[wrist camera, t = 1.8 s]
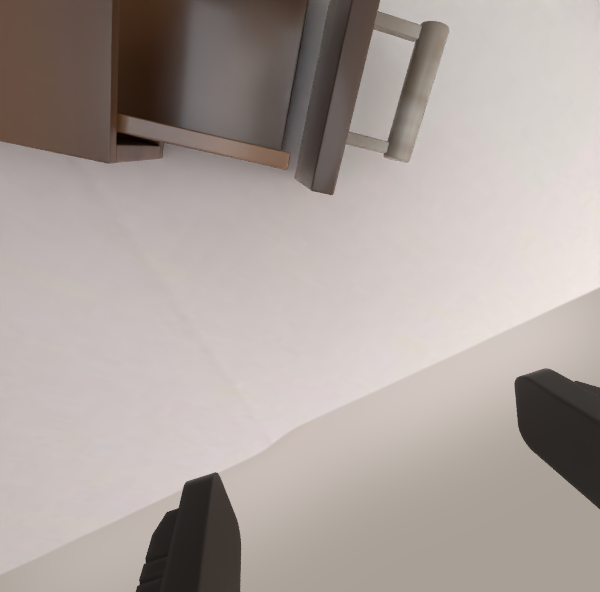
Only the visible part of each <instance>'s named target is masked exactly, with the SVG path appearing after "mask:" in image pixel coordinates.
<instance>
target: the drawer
mask: <svg viewBox="0 0 600 592" xmlns="http://www.w3.org/2000/svg"><path fill="white" fill-rule="evenodd" d="M379 2H380V0H330V1H329V6H328V11H327V17H326V22H325V27H324V32H323V37H322V42H321V47H320V52H319V57H318V62H317V67H316V72H315V77H314V82H313V87H312V92H311V97H310V102H309V107H308V112H307V117H306V122H305V127H304V132H303V137H302V142H301V147H300V153H299V158H298V163H297V168H296V173H295V179H296V180H297V181H299V182H300V183H302V184H303V185H304V186H306V187H307V188H309V189H310V190H312V191H315V192H320V193H324V194H329V195H333V194H334V190H335V186H336V181H337V177H338V173H339V169H340V165H341V161H342V156H343V152H344V148H345V144H348V145H352V146H356V147H360V148H364V149H368V150H372V151H376V152H380V153H384V157H385V158H387V159H391V160H395V161H400V162H406V163H407V162H409V161H410V158H411V154H412V151H413V148H414V144H415V141H416V138H417V135H418V131H419V128H420V125H421V122H422V118H423V115H424V112H425V108H426V105H427V102H428V99H429V95H430V92H431V89H432V86H433V82H434V79H435V76H436V72H437V69H438V66H439V63H440V59H441V56H442V53H443V50H444V46H445V43H446V40H447V36H448V33H449V27H448V26H447V25H445V24H443V23H441V22H436V21H427V22H423V23H422V24H421V25H418V24H415V23H412V22H409V21H406V20H403V19H400V18H397V17H394V16H391V15H388V14H385V13H382V12H379V11H378V7H379ZM307 6H308V0H120V8H119V50H118V91H117V132H119V133H124V134H128V135H133V136H137V137H142V138H146V139H151V140H155V141H160V142H164V143H168V144H173V145H177V146H182V147H186V148H191V149H195V150H200V151H204V152H209V153H213V154H218V155H222V156H227V157H231V158H236V159H240V160H245V161H249V162H253V163H258V164H262V165H267V166H271V167H276V168H280V169H285V170H287V169H288V164H289V159H290V153H289V152H285V151H281V150H282V144H283V139H284V133H285V128H286V122H287V117H288V111H289V106H290V100H291V94H292V89H293V83H294V78H295V72H296V67H297V61H298V56H299V50H300V45H301V39H302V34H303V28H304V23H305V17H306V12H307ZM373 29H375V30H378V31H381V32H384V33H387V34H390V35H394V36H397V37H400V38H403V39H406V40H409V41H413V42H414V41H415V45H414V49H413V52H412V56H411V59H410V63H409V66H408V70H407V74H406V77H405V81H404V84H403V88H402V91H401V95H400V99H399V102H398V106H397V109H396V113H395V117H394V120H393V124H392V127H391V131H390V134H389V138H388V142H387V141H383V140H379V139H375V138H371V137H367V136H363V135H360V134H356V133H352V132H348V131H349V127H350V123H351V119H352V115H353V111H354V106H355V102H356V98H357V94H358V90H359V86H360V82H361V77H362V73H363V69H364V65H365V61H366V57H367V52H368V48H369V44H370V40H371V36H372V32H373Z"/></svg>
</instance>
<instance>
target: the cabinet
mask: <svg viewBox="0 0 600 592" xmlns="http://www.w3.org/2000/svg"><path fill="white" fill-rule="evenodd" d="M119 8H120V0H0V141H2V142H7V143H12V144H17V145H22V146H26V147H31V148H36V149H41V150H46V151H51V152H55V153H60V154H65V155H70V156H75V157H80V158H85V159H89V160H94V161H99V162H104V163H117V162H128V161H139V160H149V159H160V158H162V155H163V142H160V141H155V140H151V139H146V138H142V137H137V136H133V135H128V134H124V133H119V132H117V91H118V50H119Z"/></svg>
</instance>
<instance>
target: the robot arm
mask: <svg viewBox="0 0 600 592" xmlns="http://www.w3.org/2000/svg"><path fill="white" fill-rule="evenodd" d="M515 394H516V406H517V417H518V426H519V430H520V433H521V435H522V437H523V439H524V441H525V442H526V444H527V445H528V446H529V447H530V449H531V450H532V451H533V452H534V453H536V454H537V455H538V456H539V457H540V458H541V459H543V460H544V461H545V462H546V463H547V464H548V465H550V466H551V467H552V468H553V469H554V470H555V471H556V472H558V473H559V474H560V475H561V476H562V477H563V478H564V479H566V480H567V481H568V482H569V483H570V484H571V485H573V486H574V487H575V488H576V489H577V490H578V491H580V492H581V493H582V494H583V495H584V496H585V497H586V498H588V499H589V500H590V501H591V502H592V503H593V504H595V505H596V506H597V507H598V508H599V509H600V388H599V387H596V386H592V385H589V384H585V383H582V382H578V381H575V382H573V381H571V380H570V379H568V378H566V377H564V376H562V375H560V374H558V373H557V372H555V371H553V370H551V369H542V370H539V371H535V372H532V373H529V374H526V375H523V376H520V377H518V378H517V379H516V380H515ZM240 571H241V539H240V531H239V526H238V522H237V519H236V516H235V513H234V511H233V508H232V506H231V503H230V501H229V498H228V496H227V493H226V491H225V488H224V486H223V483H222V481H221V478H220V476H219V475H218V473H216V472H215V473H212V474H209V475H206V476H203V477H200V478H197V479H193V480H190V481H187V482H186V483H185V485H184V488H183V492H182V496H181V501H180V505H179V508H178V509H175V510H172V511H169V512H167V513H166V514H165V516H164V518H163V519H162V521H161V522H160V524H159V525H158V527H157V529H156V530H155V532H154V533H153V535H152V538H151V542H150V545H149V548H148V552H147V555H146V564H144V566H143V569H142V573H141V576H140V579H139V581H140V585H139V586H137V590H136V592H240Z"/></svg>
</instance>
